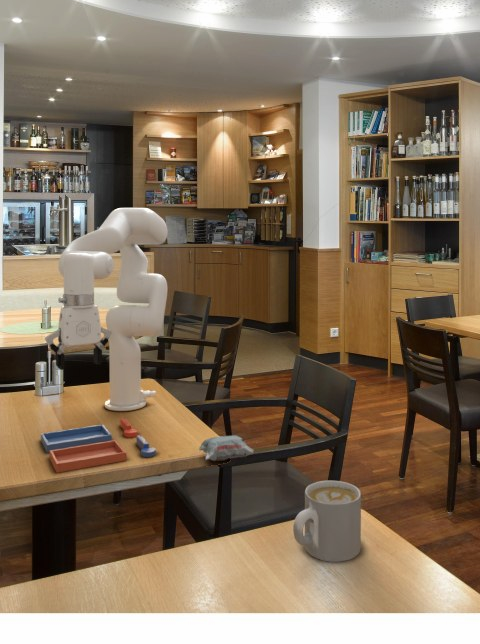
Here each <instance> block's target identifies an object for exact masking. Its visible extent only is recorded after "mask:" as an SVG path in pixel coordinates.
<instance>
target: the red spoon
mask: <svg viewBox="0 0 480 644" xmlns="http://www.w3.org/2000/svg"><path fill="white" fill-rule="evenodd" d="M120 427H121V429H122V430H123V437H125V438H135V437H136V436H139V435H138V434H139V433H138V431H139V430H138V429H136V428H132V425H131V423H130V422H129V421H128V420H127V419H126V418H125V417H123V418H120Z"/></svg>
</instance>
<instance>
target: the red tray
mask: <svg viewBox="0 0 480 644" xmlns="http://www.w3.org/2000/svg"><path fill="white" fill-rule="evenodd" d="M49 460H50V462H51V464H52V466H53V469H54V471H55V473H56V474H58V473H63V472H68V471H74V470H79V469H85V468H91V467H96V466H102V465H108V464H112V463H119V462H125V461H127V452H126V450H125V449H124V448H123V446H121V444H120V443H119V442H118V440H117V439H112V441H107V442H101V443H95V444H88V445H82V446H76V447H70V448H64V449H57V450H51V451H50V452H49Z"/></svg>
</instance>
